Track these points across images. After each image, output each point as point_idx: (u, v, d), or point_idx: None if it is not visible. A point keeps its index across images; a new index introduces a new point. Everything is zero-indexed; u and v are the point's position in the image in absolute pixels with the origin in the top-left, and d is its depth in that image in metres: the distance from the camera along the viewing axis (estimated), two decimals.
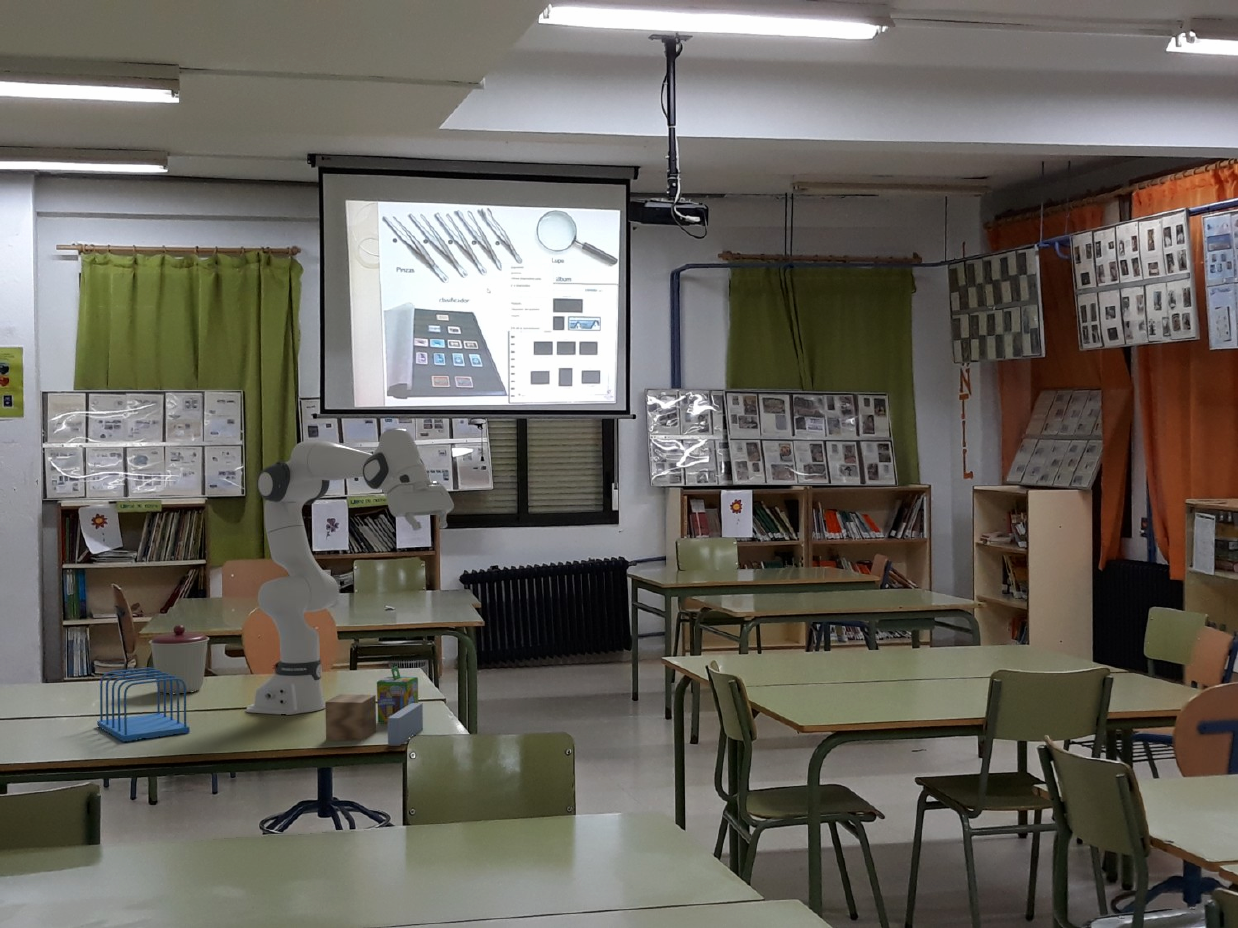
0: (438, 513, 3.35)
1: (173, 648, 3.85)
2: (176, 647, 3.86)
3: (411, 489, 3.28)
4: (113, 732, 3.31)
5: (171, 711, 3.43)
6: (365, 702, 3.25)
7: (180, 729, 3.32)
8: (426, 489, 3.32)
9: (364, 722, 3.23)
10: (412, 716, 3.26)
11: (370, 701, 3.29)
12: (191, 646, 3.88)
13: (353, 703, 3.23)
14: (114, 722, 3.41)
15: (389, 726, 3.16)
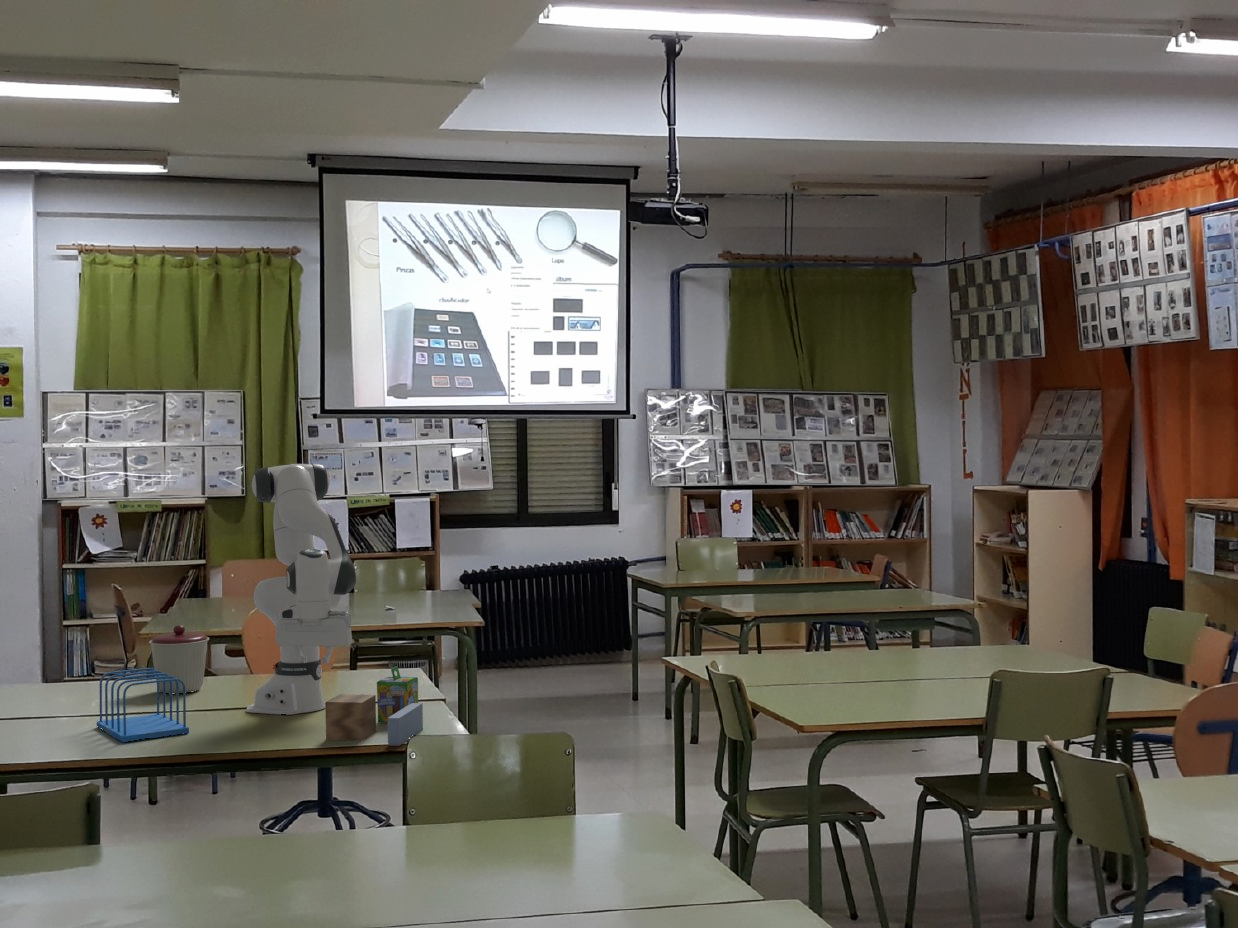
0: None
1: (173, 648, 3.85)
2: (176, 647, 3.86)
3: (296, 623, 3.28)
4: (112, 733, 3.30)
5: (170, 712, 3.42)
6: (365, 702, 3.25)
7: (179, 730, 3.32)
8: (315, 624, 3.27)
9: (364, 722, 3.23)
10: (412, 716, 3.26)
11: (370, 701, 3.29)
12: (191, 646, 3.88)
13: (353, 703, 3.23)
14: (113, 723, 3.40)
15: (389, 726, 3.16)
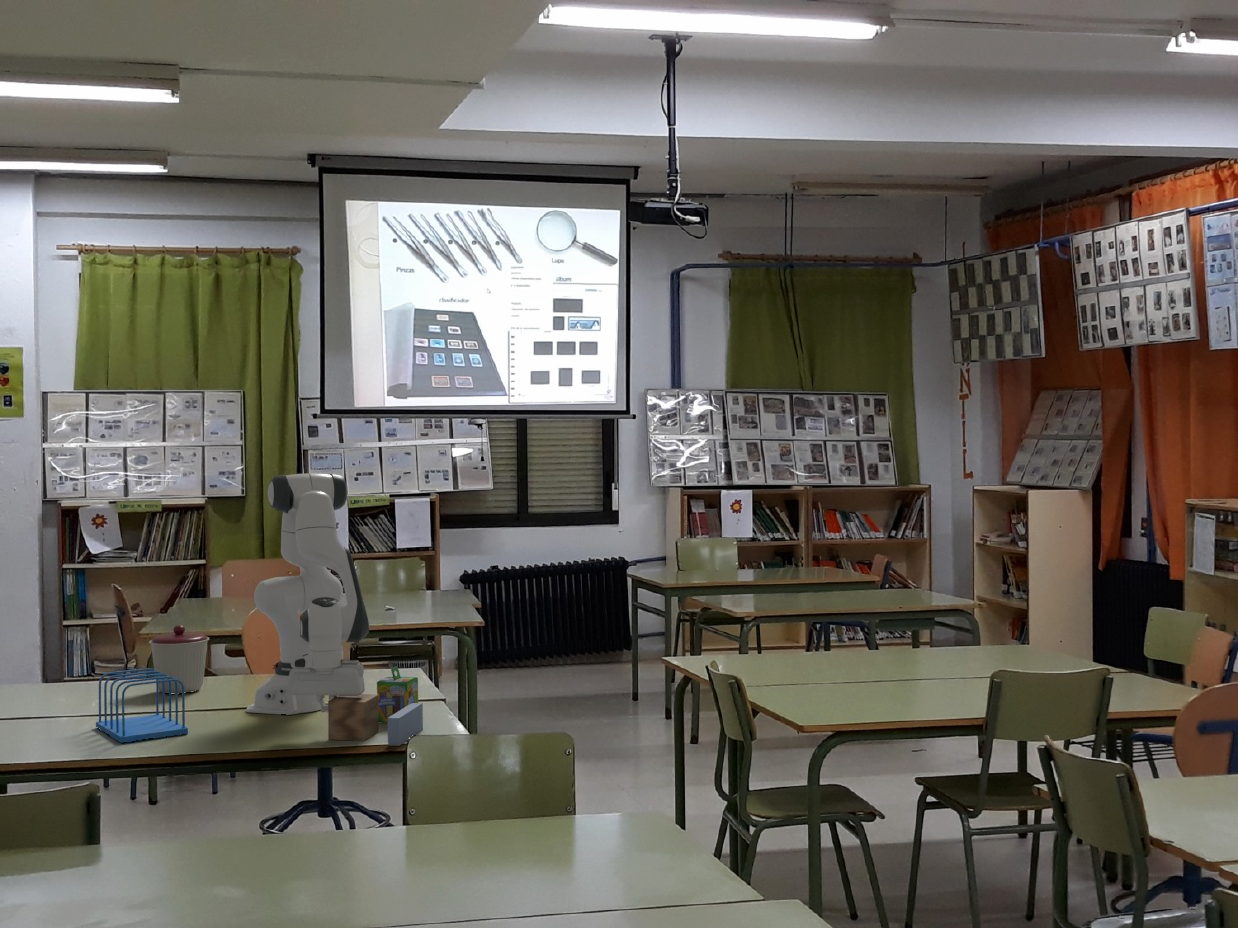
0: None
1: (173, 648, 3.85)
2: (176, 647, 3.86)
3: (308, 672, 3.27)
4: (111, 733, 3.29)
5: (170, 712, 3.42)
6: (368, 702, 3.25)
7: (178, 730, 3.31)
8: (327, 673, 3.26)
9: (366, 722, 3.23)
10: (412, 716, 3.26)
11: (373, 700, 3.28)
12: (191, 646, 3.88)
13: (356, 703, 3.22)
14: (112, 723, 3.39)
15: (389, 726, 3.16)
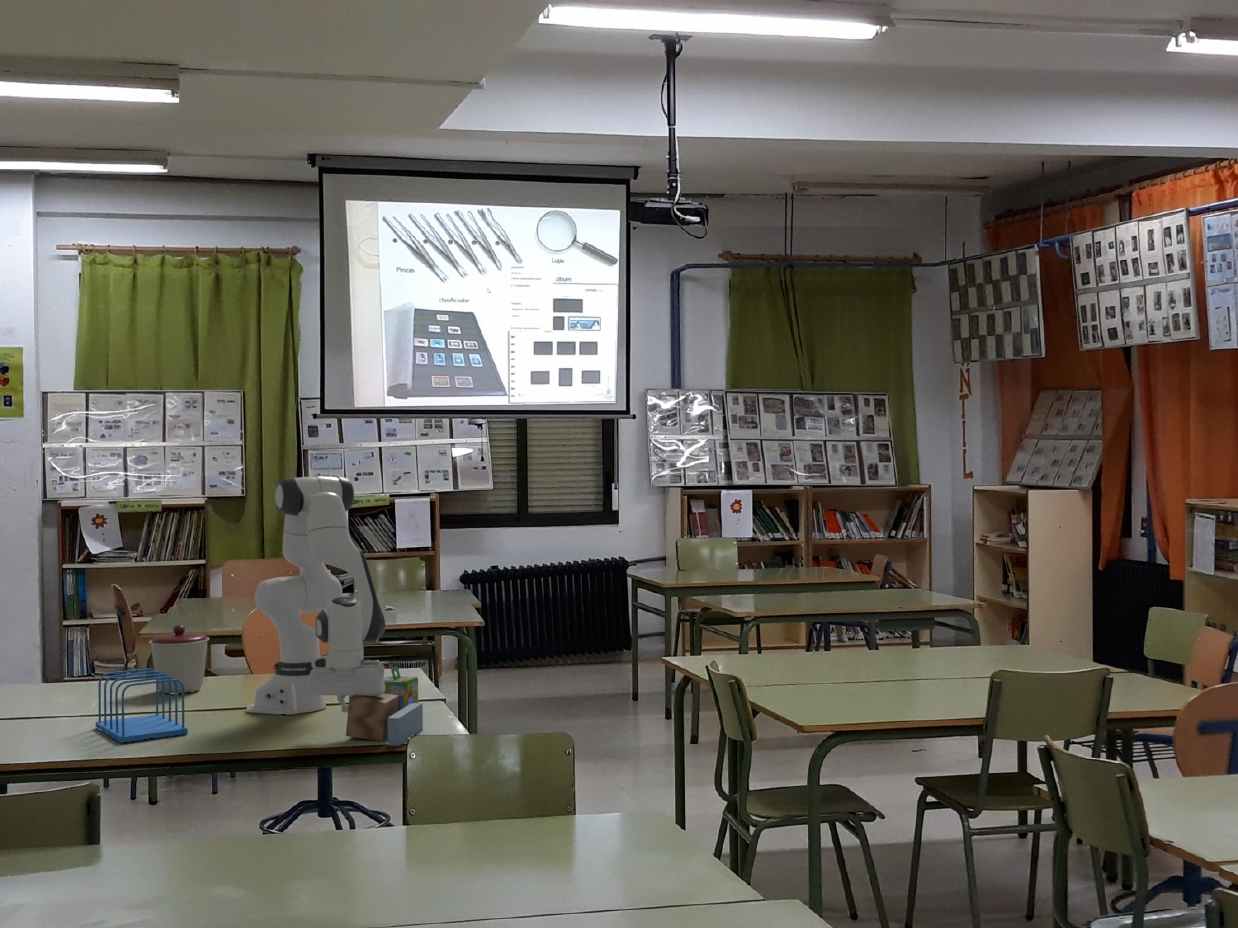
0: None
1: (173, 648, 3.85)
2: (176, 647, 3.86)
3: (329, 672, 3.26)
4: (111, 733, 3.29)
5: (169, 712, 3.41)
6: (389, 702, 3.23)
7: (178, 730, 3.31)
8: (348, 673, 3.25)
9: (385, 723, 3.22)
10: (412, 716, 3.26)
11: (394, 701, 3.27)
12: (191, 646, 3.88)
13: (377, 702, 3.21)
14: (112, 723, 3.39)
15: (389, 726, 3.16)
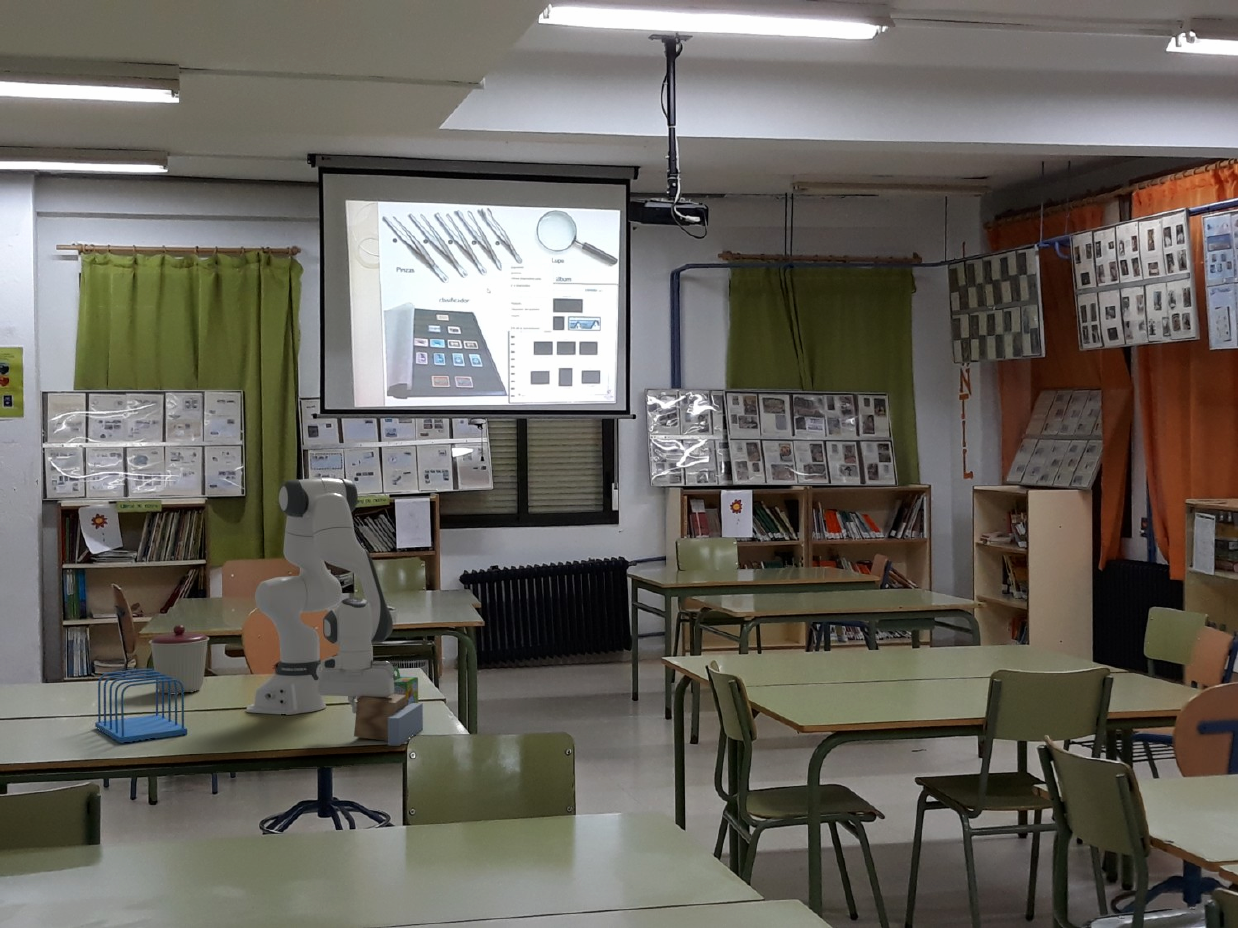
0: None
1: (173, 648, 3.85)
2: (176, 647, 3.86)
3: (338, 673, 3.26)
4: (110, 734, 3.29)
5: (169, 712, 3.41)
6: (397, 702, 3.24)
7: (178, 731, 3.30)
8: (357, 674, 3.25)
9: None
10: (412, 716, 3.26)
11: (401, 701, 3.27)
12: (191, 646, 3.88)
13: (386, 702, 3.21)
14: (112, 723, 3.39)
15: (389, 726, 3.16)
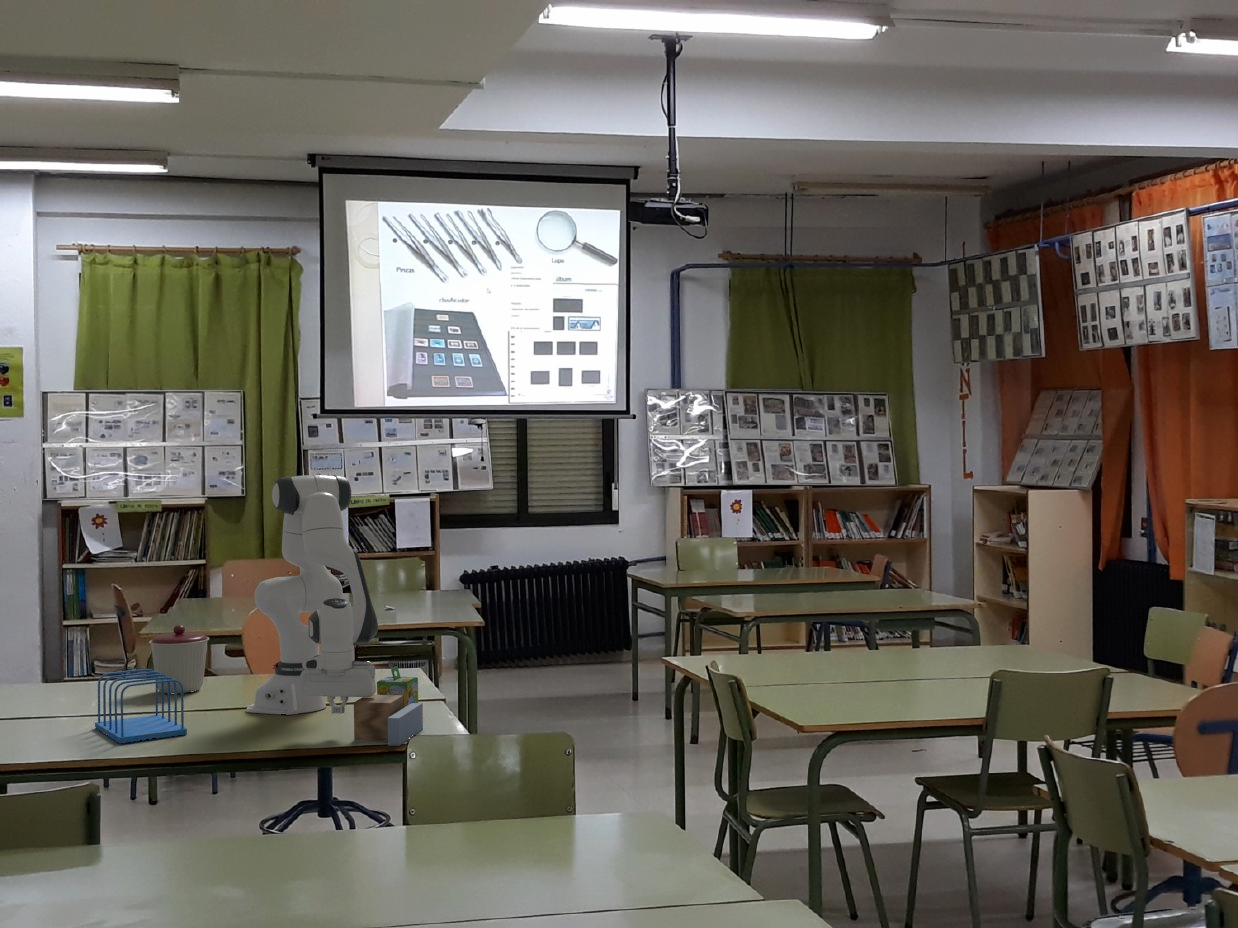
0: None
1: (173, 648, 3.85)
2: (176, 647, 3.86)
3: (320, 674, 3.27)
4: (110, 734, 3.28)
5: (169, 713, 3.41)
6: (393, 702, 3.24)
7: (177, 731, 3.30)
8: (339, 675, 3.26)
9: None
10: (412, 716, 3.26)
11: (398, 701, 3.28)
12: (191, 646, 3.88)
13: (382, 703, 3.22)
14: (112, 724, 3.39)
15: (389, 726, 3.16)
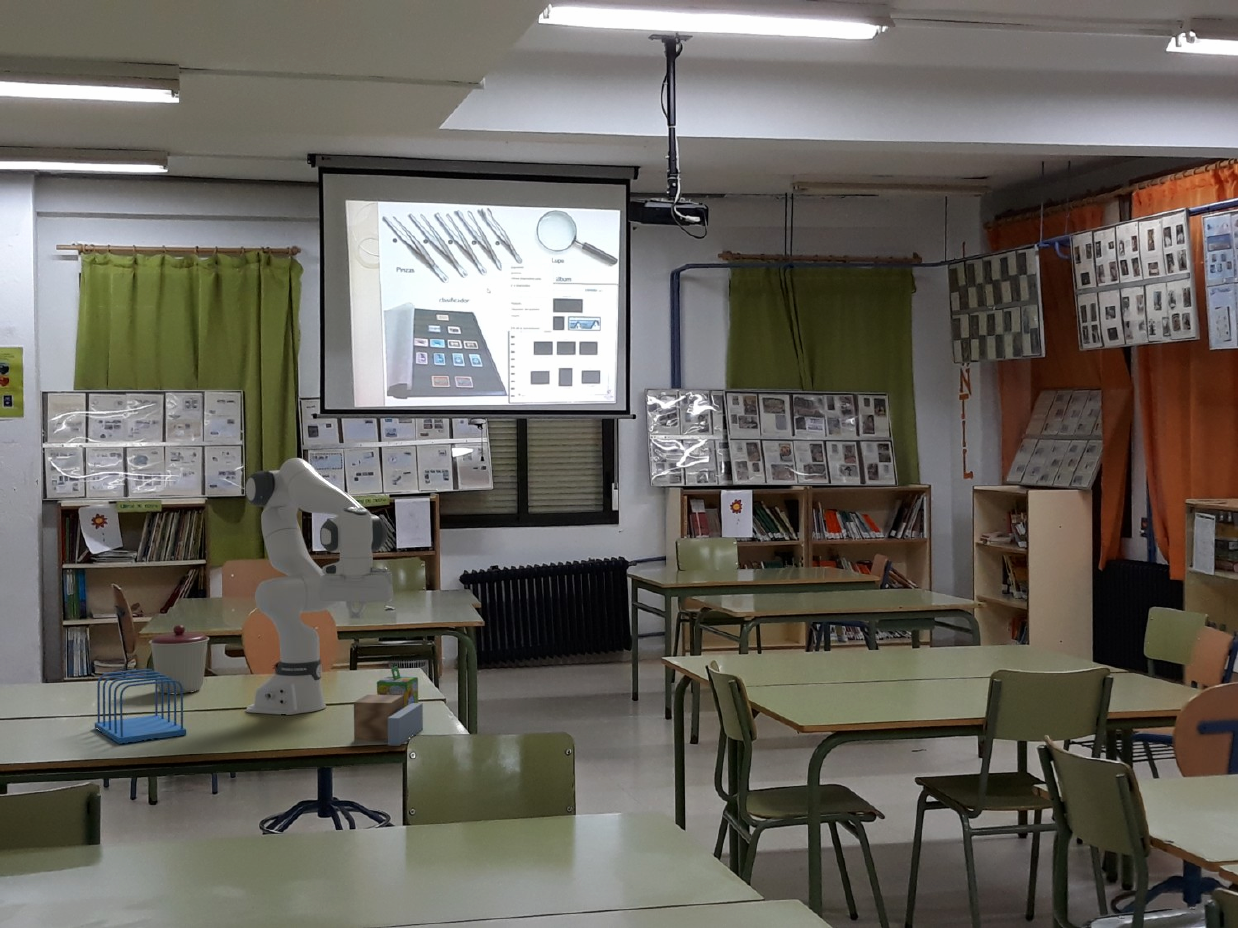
0: None
1: (174, 648, 3.85)
2: (176, 647, 3.86)
3: (339, 579, 3.35)
4: (109, 734, 3.28)
5: (168, 713, 3.41)
6: (393, 702, 3.24)
7: (177, 731, 3.30)
8: (357, 580, 3.34)
9: None
10: (412, 716, 3.26)
11: (398, 701, 3.28)
12: (191, 646, 3.88)
13: (382, 703, 3.22)
14: (111, 724, 3.38)
15: (389, 726, 3.16)
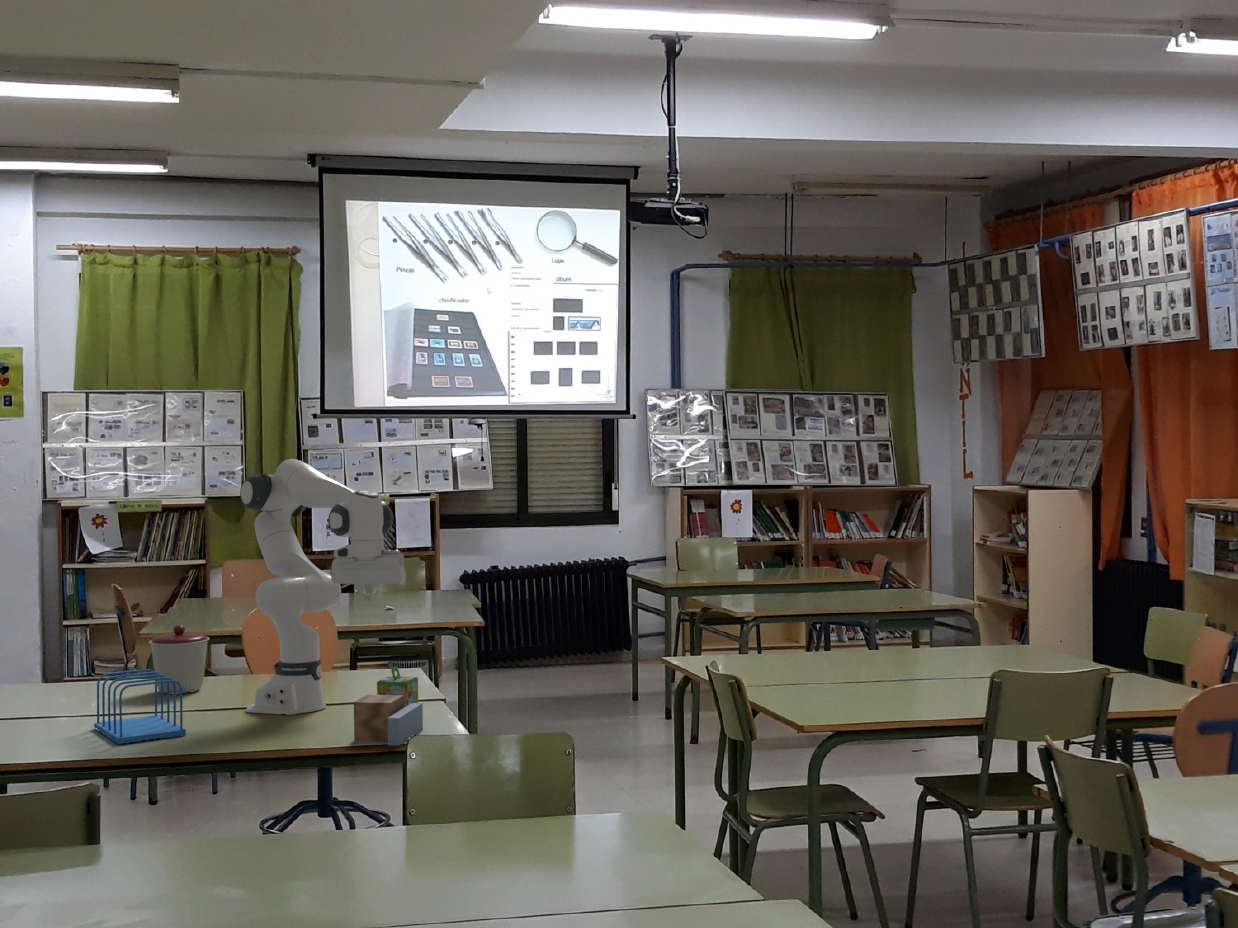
0: None
1: (173, 648, 3.85)
2: (176, 647, 3.86)
3: (351, 562, 3.40)
4: (109, 734, 3.28)
5: (168, 713, 3.40)
6: (393, 702, 3.24)
7: (176, 732, 3.29)
8: (369, 562, 3.39)
9: None
10: (412, 716, 3.26)
11: (398, 701, 3.28)
12: (191, 646, 3.88)
13: (382, 703, 3.22)
14: (111, 724, 3.38)
15: (389, 726, 3.16)
